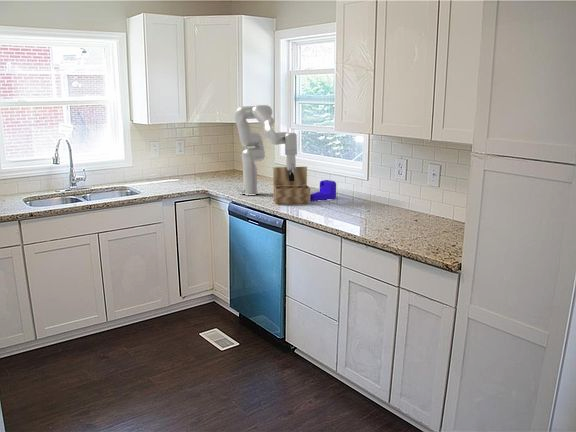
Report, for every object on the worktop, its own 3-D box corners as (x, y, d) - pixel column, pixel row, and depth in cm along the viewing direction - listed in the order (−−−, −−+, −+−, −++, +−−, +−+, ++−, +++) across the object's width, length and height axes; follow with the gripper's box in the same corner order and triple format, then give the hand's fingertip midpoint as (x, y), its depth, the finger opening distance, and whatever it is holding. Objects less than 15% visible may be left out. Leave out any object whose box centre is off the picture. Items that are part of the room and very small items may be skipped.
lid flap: (273, 167, 339) (273, 167, 340) (273, 185, 342) (273, 185, 342) (306, 166, 342) (306, 166, 343) (306, 184, 345) (306, 184, 346)
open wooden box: (275, 204, 333) (275, 189, 330) (273, 200, 344) (273, 185, 342) (310, 203, 336) (310, 188, 334) (306, 200, 347) (306, 185, 345)
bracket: (324, 196, 360) (324, 179, 357) (335, 198, 352) (336, 181, 349) (305, 200, 348) (305, 182, 345) (316, 202, 340) (317, 184, 338)
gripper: (283, 151, 342) (284, 179, 346) (286, 153, 328) (287, 182, 332) (295, 151, 343) (295, 179, 347) (298, 153, 329) (299, 182, 333)
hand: (291, 180), depth 339 cm, fingers closed
